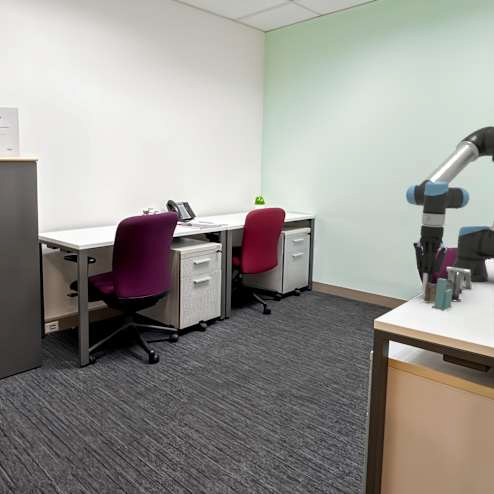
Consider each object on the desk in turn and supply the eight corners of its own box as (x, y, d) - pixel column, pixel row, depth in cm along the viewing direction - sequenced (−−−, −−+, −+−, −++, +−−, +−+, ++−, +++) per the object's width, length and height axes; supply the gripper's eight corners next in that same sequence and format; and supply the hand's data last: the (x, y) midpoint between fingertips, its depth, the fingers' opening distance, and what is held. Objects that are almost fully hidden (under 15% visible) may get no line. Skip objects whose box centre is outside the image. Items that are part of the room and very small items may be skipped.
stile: (439, 304, 164) (442, 275, 162) (450, 306, 161) (453, 278, 160) (431, 307, 159) (434, 278, 158) (443, 310, 157) (446, 280, 155)
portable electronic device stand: (471, 288, 190) (474, 267, 188) (466, 291, 184) (468, 270, 182) (449, 284, 195) (451, 264, 194) (443, 287, 189) (445, 267, 188)
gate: (448, 298, 169) (450, 281, 168) (451, 299, 168) (453, 282, 167) (424, 300, 166) (425, 283, 165) (427, 301, 164) (429, 284, 163)
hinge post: (451, 298, 172) (454, 270, 171) (462, 300, 170) (465, 272, 168) (447, 300, 170) (450, 271, 168) (458, 302, 167) (461, 273, 165)
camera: (450, 294, 179) (452, 284, 178) (434, 288, 189) (435, 277, 188) (462, 294, 180) (463, 283, 179) (445, 287, 190) (446, 277, 189)
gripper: (410, 223, 170) (404, 287, 173) (443, 228, 159) (435, 296, 163) (423, 223, 174) (416, 285, 178) (455, 227, 163) (448, 293, 167)
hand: (425, 290), depth 170 cm, fingers closed
